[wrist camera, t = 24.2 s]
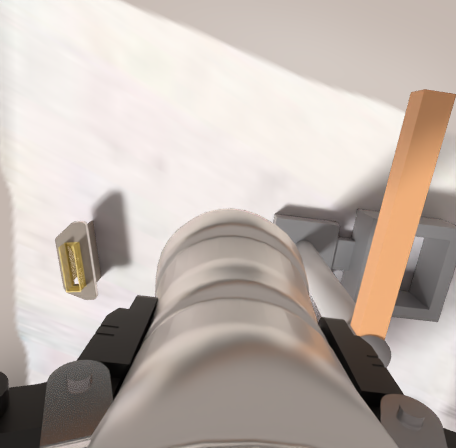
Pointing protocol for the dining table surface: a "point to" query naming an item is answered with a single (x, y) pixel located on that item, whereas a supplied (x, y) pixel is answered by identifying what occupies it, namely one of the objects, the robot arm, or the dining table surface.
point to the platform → (88, 259)
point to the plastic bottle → (236, 351)
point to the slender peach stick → (400, 215)
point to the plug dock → (357, 258)
